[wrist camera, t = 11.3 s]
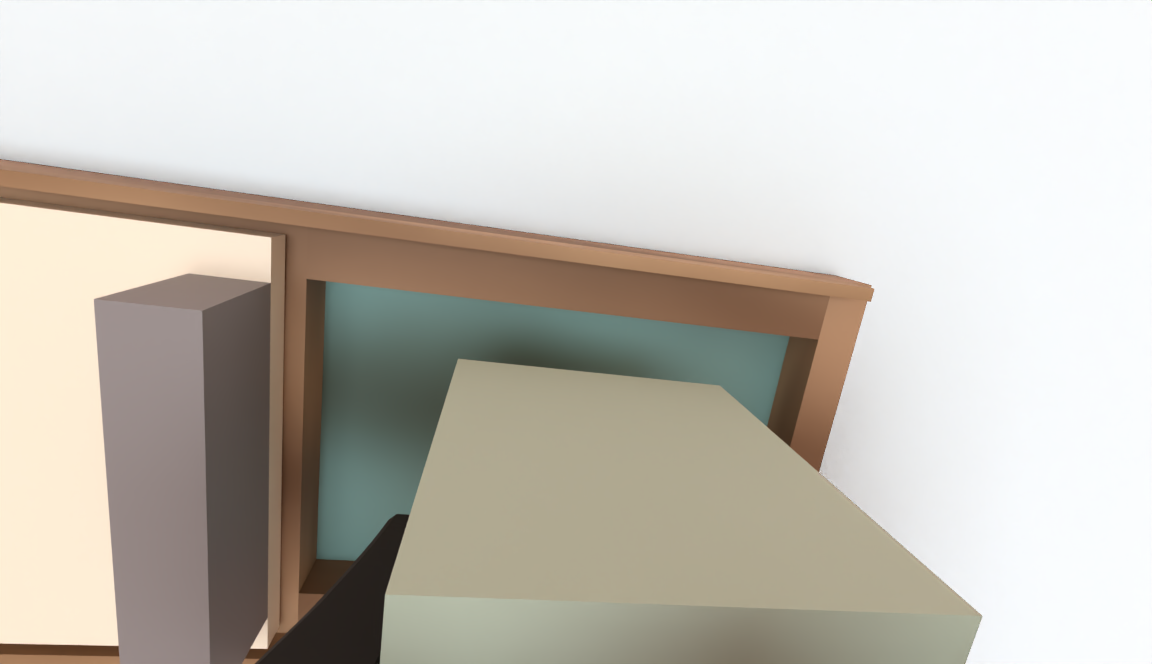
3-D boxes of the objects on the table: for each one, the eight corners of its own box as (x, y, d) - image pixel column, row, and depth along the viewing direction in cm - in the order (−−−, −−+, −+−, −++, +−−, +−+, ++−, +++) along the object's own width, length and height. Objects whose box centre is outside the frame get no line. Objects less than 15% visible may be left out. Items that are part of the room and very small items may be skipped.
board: (745, 614, 17) (780, 676, 15) (-288, 579, 13) (-449, 658, 11) (836, 275, 15) (894, 291, 12) (-424, 99, 11) (-672, 78, 8)
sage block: (672, 605, 12) (838, 1013, 6) (434, 596, 11) (348, 1056, 5) (720, 385, 10) (982, 616, 5) (458, 358, 10) (384, 593, 4)
